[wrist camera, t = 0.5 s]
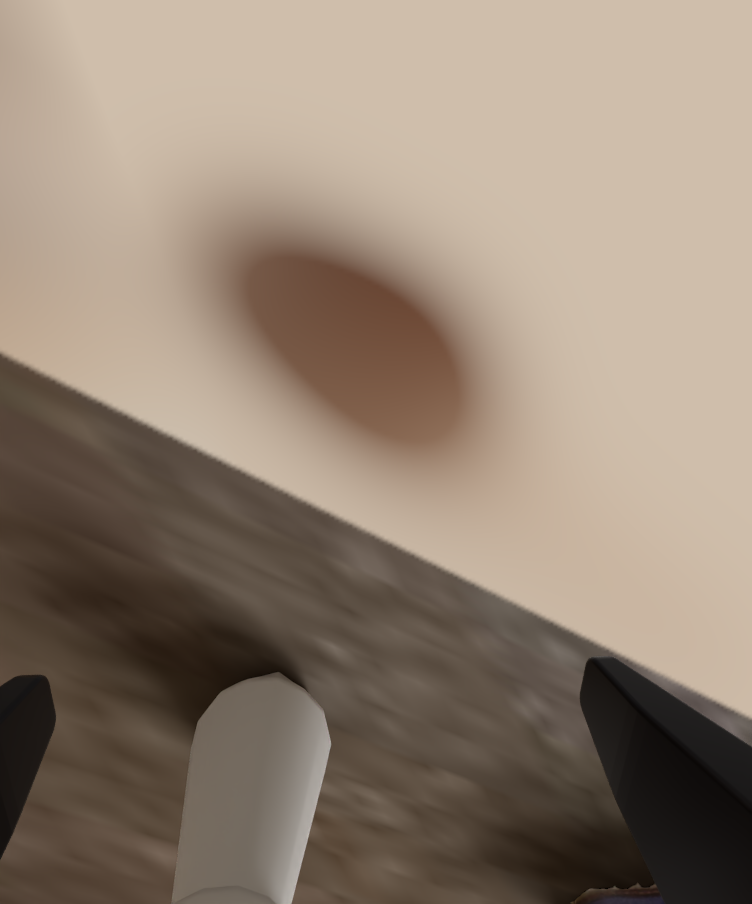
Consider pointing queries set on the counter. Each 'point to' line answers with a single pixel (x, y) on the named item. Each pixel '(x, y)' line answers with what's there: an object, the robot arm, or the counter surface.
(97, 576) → the counter surface
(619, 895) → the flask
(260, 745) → the salt shaker
